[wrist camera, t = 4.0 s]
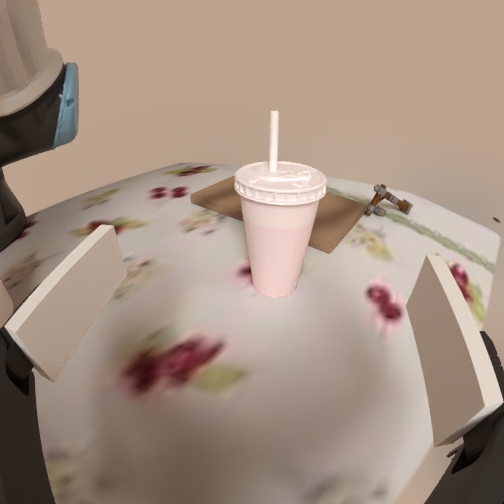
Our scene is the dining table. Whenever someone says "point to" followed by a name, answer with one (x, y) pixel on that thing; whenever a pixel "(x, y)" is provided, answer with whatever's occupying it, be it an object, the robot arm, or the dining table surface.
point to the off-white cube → (5, 305)
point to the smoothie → (278, 216)
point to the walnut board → (325, 224)
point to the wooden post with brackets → (381, 191)
